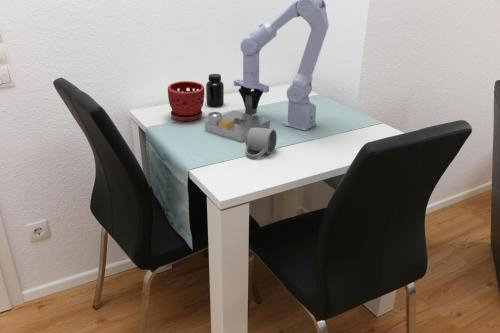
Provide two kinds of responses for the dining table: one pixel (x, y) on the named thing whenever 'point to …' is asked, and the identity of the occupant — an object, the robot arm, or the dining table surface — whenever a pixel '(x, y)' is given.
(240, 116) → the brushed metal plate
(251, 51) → the robot arm
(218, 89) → the supplement bottle
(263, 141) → the ceramic mug
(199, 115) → the plant pot
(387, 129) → the dining table surface
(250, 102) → the metal block
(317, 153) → the dining table surface
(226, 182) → the dining table surface
